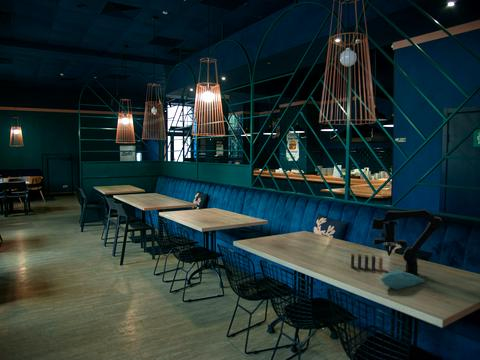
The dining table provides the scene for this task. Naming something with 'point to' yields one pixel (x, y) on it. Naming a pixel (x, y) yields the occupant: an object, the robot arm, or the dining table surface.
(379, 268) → the domino
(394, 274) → the crystal
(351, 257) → the domino
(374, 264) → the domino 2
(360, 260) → the domino
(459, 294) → the dining table surface
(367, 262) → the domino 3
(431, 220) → the robot arm
